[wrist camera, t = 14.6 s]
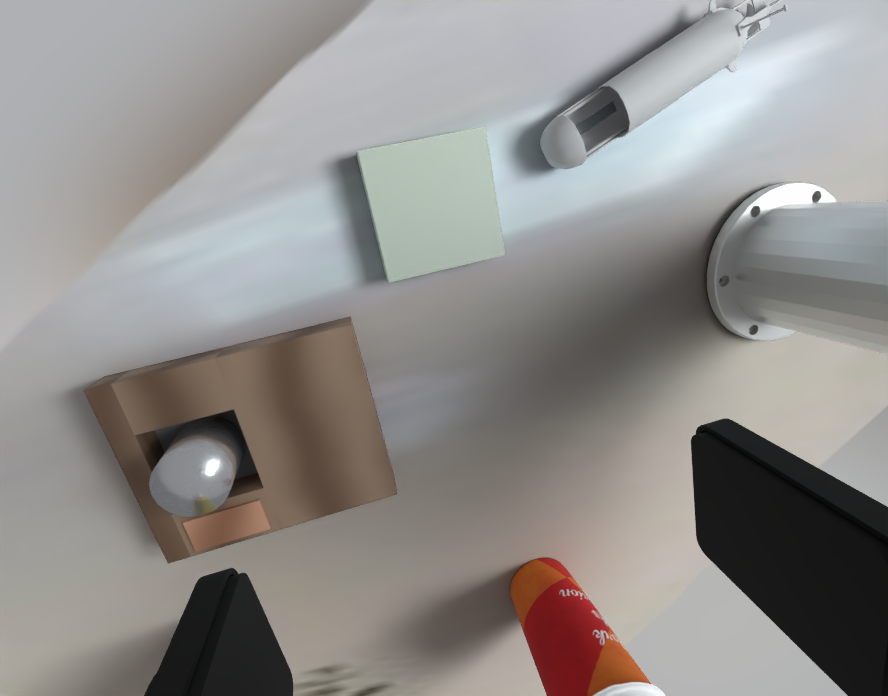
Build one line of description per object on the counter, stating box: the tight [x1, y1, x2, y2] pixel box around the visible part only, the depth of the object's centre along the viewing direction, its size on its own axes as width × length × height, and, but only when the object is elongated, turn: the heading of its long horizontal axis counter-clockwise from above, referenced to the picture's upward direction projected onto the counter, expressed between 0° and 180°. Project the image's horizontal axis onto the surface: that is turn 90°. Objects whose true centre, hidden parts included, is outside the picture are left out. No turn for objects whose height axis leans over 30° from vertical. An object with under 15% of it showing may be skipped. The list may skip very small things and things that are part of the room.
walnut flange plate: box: [84, 317, 397, 563], centre depth 32 cm, size 16×13×3 cm
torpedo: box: [540, 0, 788, 169], centre depth 29 cm, size 18×5×7 cm, turn 123°
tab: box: [357, 127, 505, 283], centre depth 30 cm, size 8×8×2 cm
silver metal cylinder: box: [149, 416, 245, 517], centre depth 30 cm, size 4×4×5 cm
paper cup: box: [510, 558, 665, 696], centre depth 36 cm, size 8×8×14 cm
